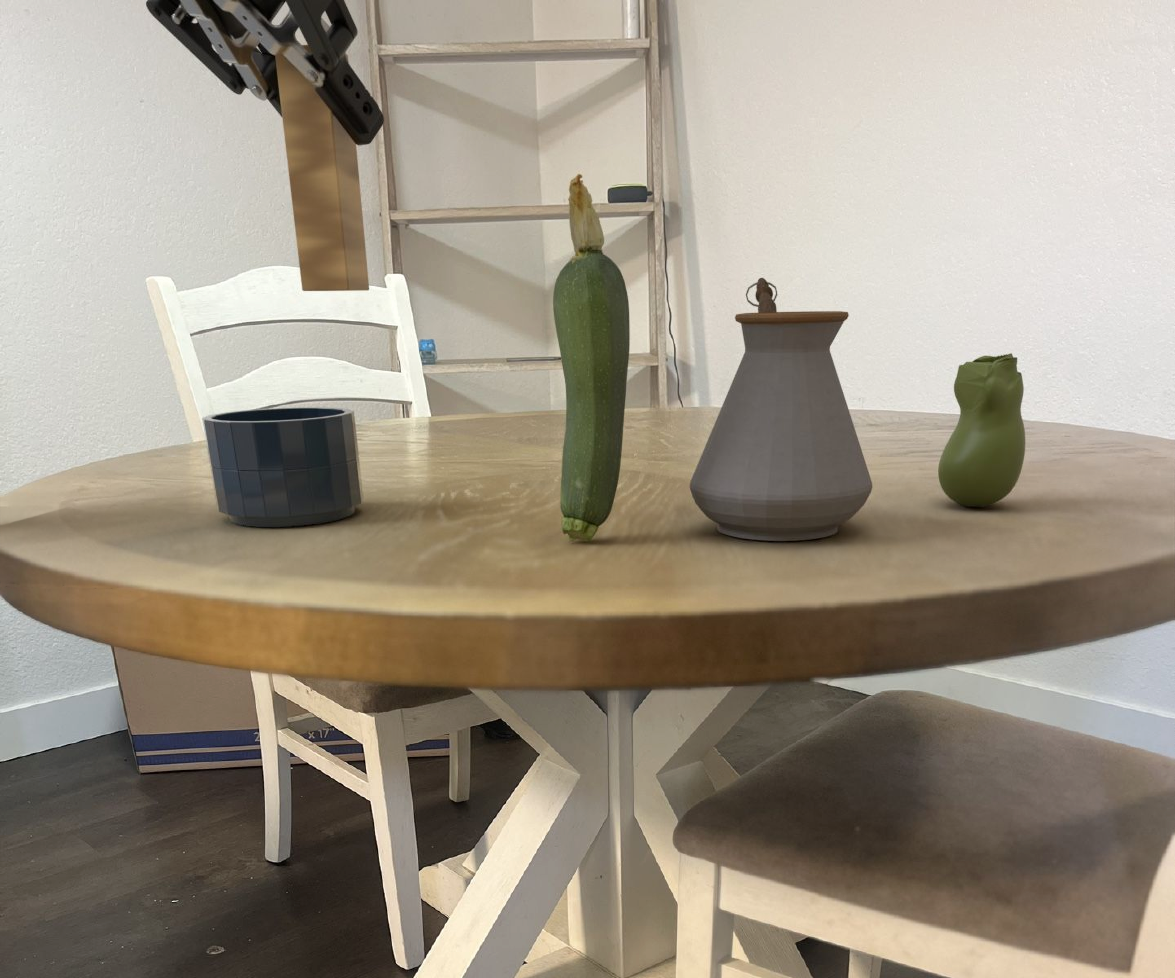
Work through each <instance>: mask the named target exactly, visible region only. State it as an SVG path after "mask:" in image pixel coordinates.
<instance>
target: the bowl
mask: <svg viewBox="0 0 1175 978" xmlns="http://www.w3.org/2000/svg"><path fill="white" fill-rule="evenodd" d="M201 420H202V425H203V433H204V438H205V445H206V450H207V455H208V456H207V457H208V462H209V464H210V465H209V467H210V474H211V481H212V485H213V491H214V497H215V503H216V508H217V511H219V513H221V514H225V515H228V517H229V521H230V522H231V523H232V524H234V525H238V524H239V525H238V526H243V525H244V526H243V527H250V526H253V528H292V527H291V526H294V527H304V525H306V526H312V525H311V524H314V525H321V524H326V523H331V522H336V521H340V520H343V519H346V518H349V517H351V516H353V515H354V514H355V512H356V510H355V507H356V506H358V505H361V504H362V503H363V501H364V490H363V483H362V482H363V481H362V473H361V471H362V470H361V464H360V463H361V462H360V453H359V444H358V435H357V426H356V416H355V410H351V409H349V408H344V407H343V408H341V407H323V406H322V407H321V406H318V407H317V406H316V407H315V406H313V407H312V406H310V407H309V406H307V407H305V406H303V407H302V406H300V407H299V406H297V407H295V406H294V407H274V408H273V407H272V408H259V409H258V408H256V409H255V408H254V409H245V410H243V409H242V410H233V411H227V412H226V411H225V412H219V413H215V414H207V415H206V416H203V417H202V418H201ZM245 525H246V526H245ZM254 526H255V527H254Z"/></svg>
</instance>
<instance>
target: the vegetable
mask: <svg viewBox="0 0 1175 978" xmlns="http://www.w3.org/2000/svg"><path fill="white" fill-rule="evenodd" d="M582 178H583V175H582V174H581V173H578V174H577V175H576V176H575V177H574V178H572V179H571V180H570V181H569V186H568V187H569V188H568V192H569V197H568V198H567V200H568V221H569V230H570V238H571V241H572V245H573V251H574V253H575V254H574V255H573V256H571V257H570V258H569V260H568V262H567V263H566V264H565V265H564V266H563V267H562V268H561V270H560V271H559V273H558V275H557V277H556V280H555V283H554V288H553V295H552V309H553V319H554V325H555V332H556V338H557V343H558V349H559V352H560V359H561V366H562V373H563V377H564V384H565V401H566V402H565V405H566V407H565V408H566V410H565V412H566V413H565V431H564V439H563V446H562V457H561V478H560V479H561V480H560V503H559V504H560V505H559V506H560V512H561V513H562V516H563V517H562V520H561V530H562V531H561V532H562V533H563V534H564V535H566V534H567V536H568V537H569V541H570V542H574V541H576V540H578V541H579V540H580V541H585V542H586V543H590V542H591V541H592V540H593V538H594V537H595V535H596V534H597V532H598V530H599V527H600V526H602V525H603V524H604V523H605V522H606V520H607V519H608V518H609V516H610V514H611V513H612V509H613V505H614V502H615V498H616V493H617V488H618V486H619V485H618V483H619V478H620V471H621V465H622V464H621V463H622V452H623V440H624V439H623V437H624V425H625V424H624V422H625V409H626V399H627V398H626V397H627V380H628V370H629V361H630V345H631V344H630V343H631V341H630V340H631V339H630V336H631V334H630V328H631V327H630V326H631V325H630V304H629V303H630V302H629V296H628V290H627V286H626V282H625V278H624V276H623V274H622V271H621V270H620V268H619V266H618V265H617V264H616V263H615V261H614V260H613V259H611V258H610V257H609V256H607V255H606V254H604V252H603V246H604V244H605V235H604V232H603V228H602V225H601V220H600V217H599V215H598V213H597V212H596V209H595V208H594V206H593V205H592V204H593V203H592V202H593V197H592V195H591V193H590V192H589V191H588V187H587V186H585V185H584V181H583V180H582Z"/></svg>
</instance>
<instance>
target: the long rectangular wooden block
mask: <svg viewBox="0 0 1175 978" xmlns="http://www.w3.org/2000/svg"><path fill="white" fill-rule="evenodd" d="M301 45H302V46H303V47H304V48H305V49H306V50H307V51H308V52H309V53H310V55H312V52H311V50H310V48H309V46H308V44H301ZM275 59H276V67H277V76H278V85H279V93H280V102H281V110H282V117H281V118H282V127H283V135H284V143H285V145H284V146H285V153H286V162H287V170H288V178H289V187H290V195H291V197H290V198H291V205H292V213H293V223H294V230H295V239H296V247H297V256H298V264H299V265H298V266H299V274H300V282H301V283H300V284H301V291H303V292H353V291H354V292H355V291H359V292H360V291H361V292H363V291H364V292H365V291H370V283H369V282H370V281H369V272H368V271H369V270H368V259H367V247H366V237H365V228H364V227H365V226H364V217H363V205H362V193H361V184H360V183H361V182H360V172H359V161H358V160H359V159H358V151H357V144H355V143H354V141H353V140H352V139H351V137H350V136H349V135H348V133H347V132H346V131H345V129H344V128H343V127H342V125H341V124H340V123H339V121H338V120H337V119H336V117H335V116H334V115H333V113H332V111H331V110H330V109H329V108H328V107H327V105H326V104H325V103H324V101H323V100H322V99H321V97H320V96H319V95H318V93H317V92H316V91H315V88H316V86H314V85H313V84H311V83H310V82H309V81H308V80H307V79H306V78H305V77H304V76H303V75H302V74H301V72H300V71H299V70H298V69H297V68H296V67H295V66H294V65H293V64H292V63H291V62H290V61H289V60H288V59H287V58H286V57H285V56H284V55H275ZM346 59H347V61H348V63H349V64H350V62H349V61H350V60H349V55H348V54H347V53H346Z"/></svg>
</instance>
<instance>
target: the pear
mask: <svg viewBox="0 0 1175 978" xmlns="http://www.w3.org/2000/svg"><path fill="white" fill-rule="evenodd" d="M1024 388H1025V387H1024V381H1023V374H1022V373H1021V372H1020V371H1018V357H1016V356H1015V357H1014V356H1013V353H1012V352H1010V353H1006V354H1003V355H1002V354H1000V355H996V356H992V355H982V356H980V357H976V358H975V359H973V361H966V362H964V363H963V364H959V365H958V368H957V373H956V377H955V380H954V383H953V393H954V397H955V400H956V402H957V403H958V406H959V411H960V414H959V418H958V421H957V424H956V426H955V428H954V430H953V431H952V433H951V435H950V437H949V438H948V441H947V442H946V445H945V446H944V448H943V451H942V453H941V455H940V458H939V463H938V468H937V473H938V481H939V485H940V487H941V490H942V491H943V492H944V494H945V495H946V496H947V497H948V498H949V499H950V500H951V501H952V502H954V503H956V504H959V505H961V506H965V507H969V508H981V507H987V506H991V505H994V504H996V503H998V502H1000V501H1001V500H1004V498H1005V497H1007V496H1008V495H1009V494H1011V492H1012V491H1013V489H1014V488H1015V487H1016V484H1017V483H1018V480H1019V478H1020V476H1021V474H1022V473H1021V472H1022V469H1023V466H1024V465H1023V464H1024V460H1025V454H1026V430H1025V424H1024V421H1023V417H1022V403H1023V397H1024V391H1025V389H1024Z"/></svg>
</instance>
